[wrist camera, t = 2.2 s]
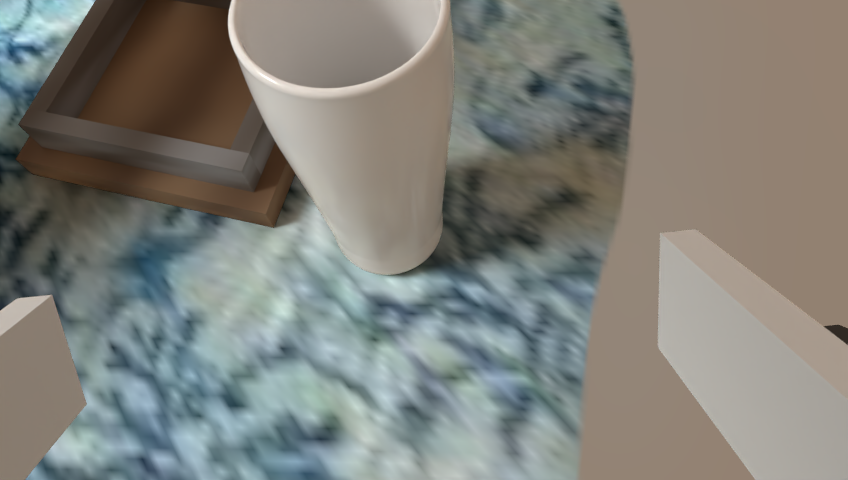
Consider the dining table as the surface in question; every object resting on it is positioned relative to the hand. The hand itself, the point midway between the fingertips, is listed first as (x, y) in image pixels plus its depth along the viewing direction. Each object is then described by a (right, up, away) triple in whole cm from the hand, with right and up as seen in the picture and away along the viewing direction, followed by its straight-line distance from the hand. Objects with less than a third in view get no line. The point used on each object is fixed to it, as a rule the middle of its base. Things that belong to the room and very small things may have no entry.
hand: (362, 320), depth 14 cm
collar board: (-11, +10, +23) cm, 27 cm away
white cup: (0, +2, +19) cm, 19 cm away
